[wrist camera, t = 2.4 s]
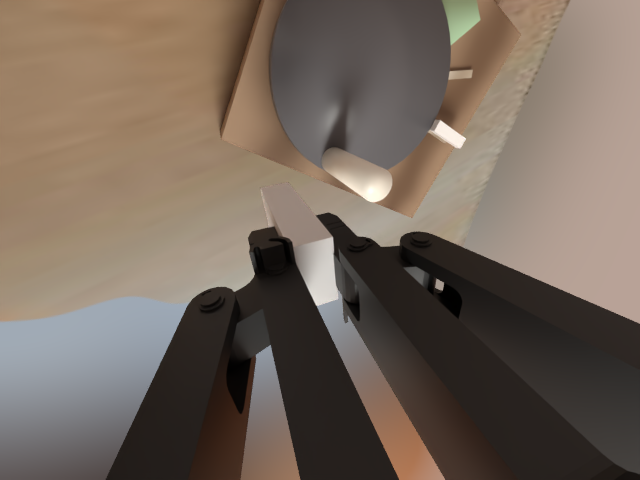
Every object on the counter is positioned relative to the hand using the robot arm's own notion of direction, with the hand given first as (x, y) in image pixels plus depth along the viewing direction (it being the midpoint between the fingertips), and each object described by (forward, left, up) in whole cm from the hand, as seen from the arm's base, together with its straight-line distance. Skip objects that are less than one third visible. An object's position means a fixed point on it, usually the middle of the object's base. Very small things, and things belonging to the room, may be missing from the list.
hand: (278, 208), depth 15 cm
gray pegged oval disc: (+7, +9, -8) cm, 14 cm away
